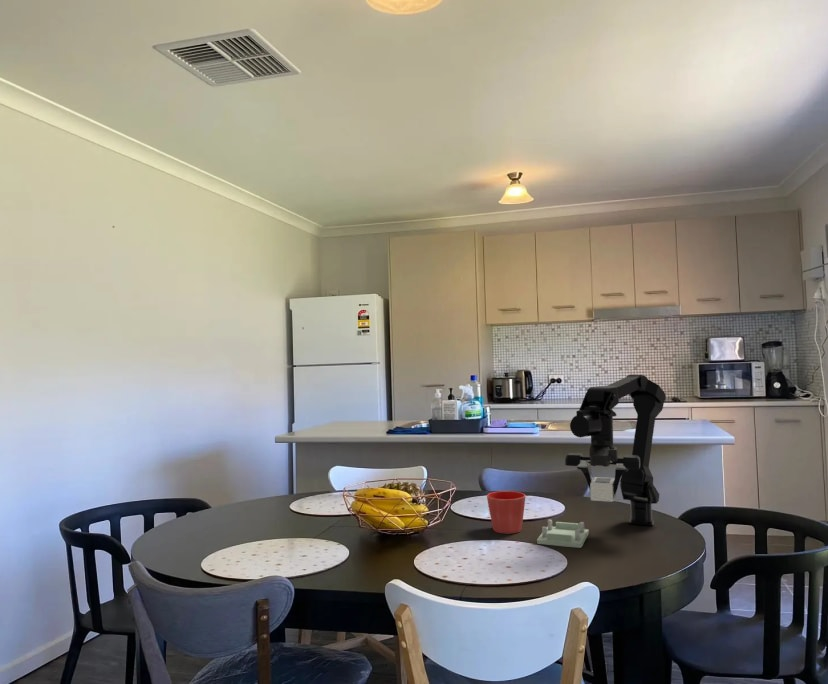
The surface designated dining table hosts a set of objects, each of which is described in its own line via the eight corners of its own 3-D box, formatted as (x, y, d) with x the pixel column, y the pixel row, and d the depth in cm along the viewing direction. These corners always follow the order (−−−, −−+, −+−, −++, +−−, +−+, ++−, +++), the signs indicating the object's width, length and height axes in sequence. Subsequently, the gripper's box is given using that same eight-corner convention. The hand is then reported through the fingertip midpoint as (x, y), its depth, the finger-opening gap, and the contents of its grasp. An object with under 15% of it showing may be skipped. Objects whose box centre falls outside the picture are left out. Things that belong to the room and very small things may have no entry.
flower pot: (481, 532, 169) (480, 497, 170) (495, 523, 179) (494, 489, 179) (519, 537, 164) (518, 500, 165) (531, 527, 174) (530, 492, 174)
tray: (547, 529, 171) (547, 516, 171) (588, 533, 167) (588, 520, 167) (537, 543, 158) (536, 529, 158) (581, 547, 154) (580, 533, 154)
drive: (594, 493, 170) (594, 476, 170) (615, 494, 168) (615, 477, 168) (590, 500, 162) (590, 482, 162) (612, 501, 159) (612, 483, 160)
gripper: (561, 436, 161) (562, 497, 161) (637, 438, 154) (639, 502, 154) (568, 432, 172) (569, 488, 171) (639, 434, 165) (641, 493, 164)
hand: (603, 493), depth 165 cm, fingers closed on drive, 5 cm apart
